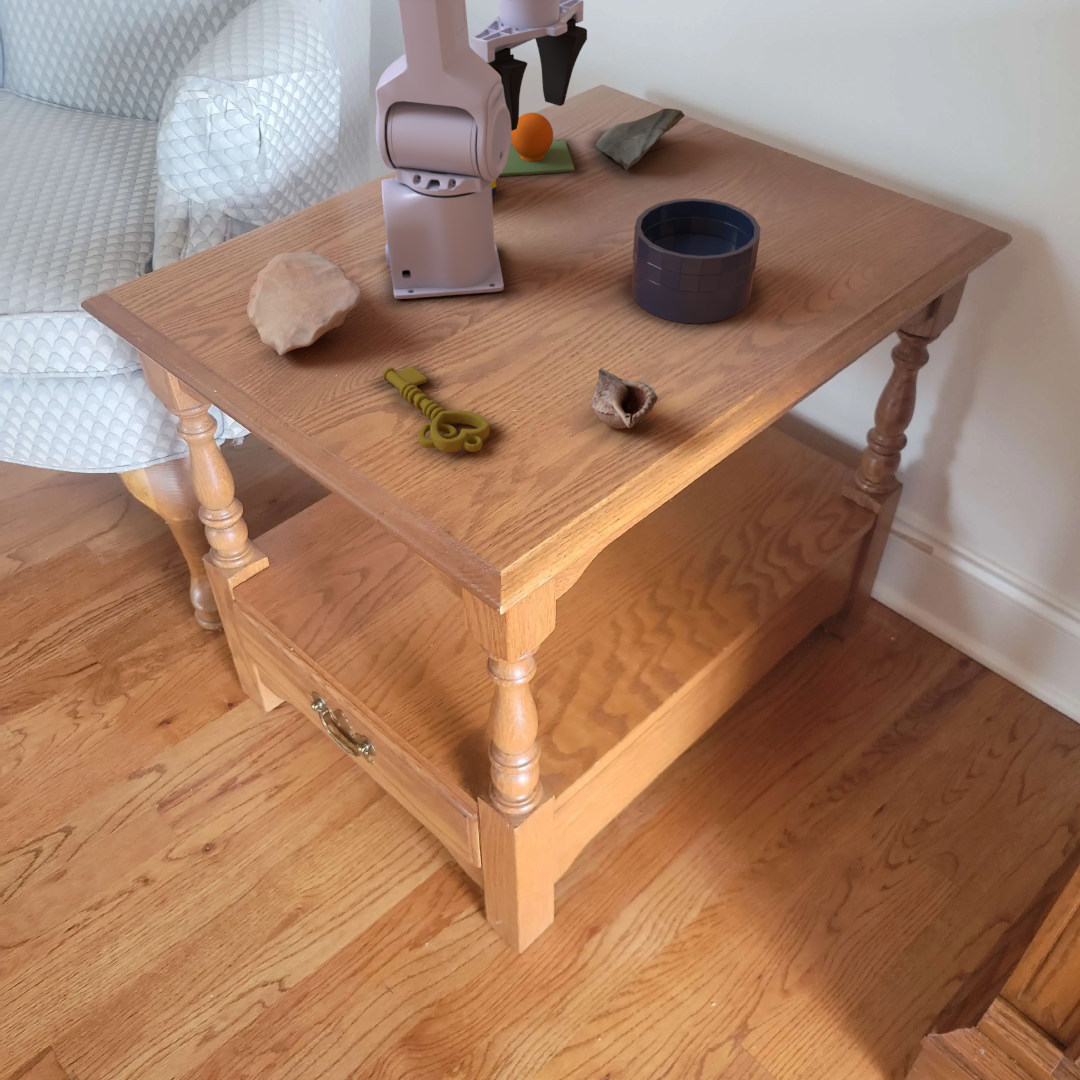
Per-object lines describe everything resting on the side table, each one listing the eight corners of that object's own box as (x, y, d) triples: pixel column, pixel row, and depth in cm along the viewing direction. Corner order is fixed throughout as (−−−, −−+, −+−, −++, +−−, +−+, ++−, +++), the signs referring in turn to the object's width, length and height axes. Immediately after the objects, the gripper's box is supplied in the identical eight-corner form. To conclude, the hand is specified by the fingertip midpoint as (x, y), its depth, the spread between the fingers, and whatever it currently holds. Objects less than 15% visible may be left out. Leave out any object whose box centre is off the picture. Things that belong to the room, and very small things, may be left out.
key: (411, 371, 80) (356, 391, 77) (411, 357, 79) (355, 376, 76) (503, 445, 73) (446, 468, 71) (503, 430, 72) (446, 454, 70)
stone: (578, 184, 104) (670, 168, 100) (569, 145, 102) (663, 127, 98) (609, 151, 112) (696, 136, 108) (601, 114, 110) (689, 97, 105)
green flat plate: (497, 176, 103) (497, 174, 103) (491, 147, 108) (491, 145, 108) (574, 171, 104) (574, 168, 104) (565, 142, 109) (565, 140, 109)
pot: (644, 328, 83) (648, 262, 79) (622, 265, 90) (625, 202, 86) (764, 318, 84) (775, 253, 80) (733, 257, 91) (741, 194, 87)
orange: (531, 169, 104) (530, 126, 101) (502, 156, 106) (501, 114, 103) (561, 156, 106) (562, 114, 103) (533, 143, 108) (532, 102, 105)
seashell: (648, 451, 74) (598, 456, 73) (618, 369, 78) (570, 373, 77) (665, 412, 70) (613, 417, 69) (632, 328, 74) (582, 332, 73)
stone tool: (257, 346, 77) (212, 264, 87) (295, 386, 80) (247, 303, 90) (349, 274, 77) (294, 200, 87) (383, 316, 80) (326, 241, 90)
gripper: (510, -5, 87) (515, 149, 97) (609, -45, 95) (605, 101, 105) (451, -20, 91) (461, 130, 100) (551, -57, 99) (552, 85, 108)
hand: (531, 114), depth 103 cm, fingers open, 7 cm apart
